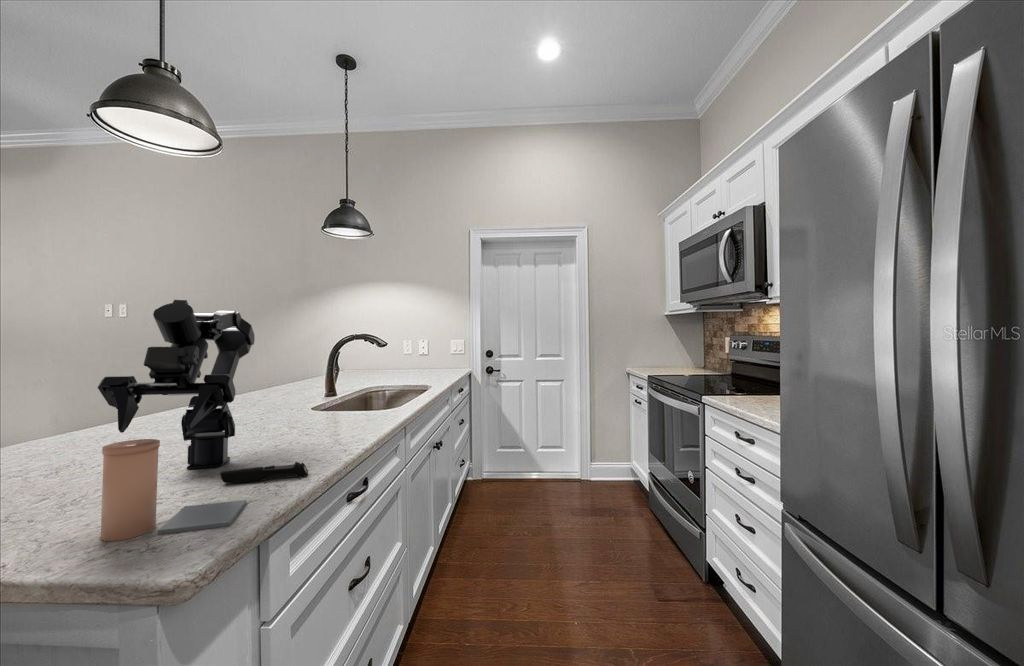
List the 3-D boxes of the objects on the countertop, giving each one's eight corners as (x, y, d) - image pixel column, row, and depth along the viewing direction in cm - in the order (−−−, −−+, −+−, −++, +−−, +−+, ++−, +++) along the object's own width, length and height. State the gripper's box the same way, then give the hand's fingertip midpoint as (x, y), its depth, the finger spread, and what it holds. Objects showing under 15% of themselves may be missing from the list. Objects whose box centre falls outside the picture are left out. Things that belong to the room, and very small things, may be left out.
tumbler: (165, 519, 64) (167, 437, 64) (143, 538, 58) (146, 447, 58) (115, 525, 62) (118, 440, 62) (87, 544, 56) (91, 451, 56)
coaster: (246, 503, 70) (246, 499, 71) (229, 525, 62) (229, 521, 62) (184, 509, 68) (184, 506, 68) (157, 534, 59) (157, 530, 59)
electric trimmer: (223, 483, 81) (223, 467, 81) (308, 473, 88) (308, 458, 88) (217, 490, 78) (218, 473, 78) (307, 478, 84) (307, 463, 84)
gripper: (105, 330, 70) (59, 403, 59) (232, 331, 76) (210, 397, 66) (129, 371, 77) (91, 443, 66) (243, 370, 83) (224, 435, 73)
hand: (155, 429), depth 68 cm, fingers open, 9 cm apart
